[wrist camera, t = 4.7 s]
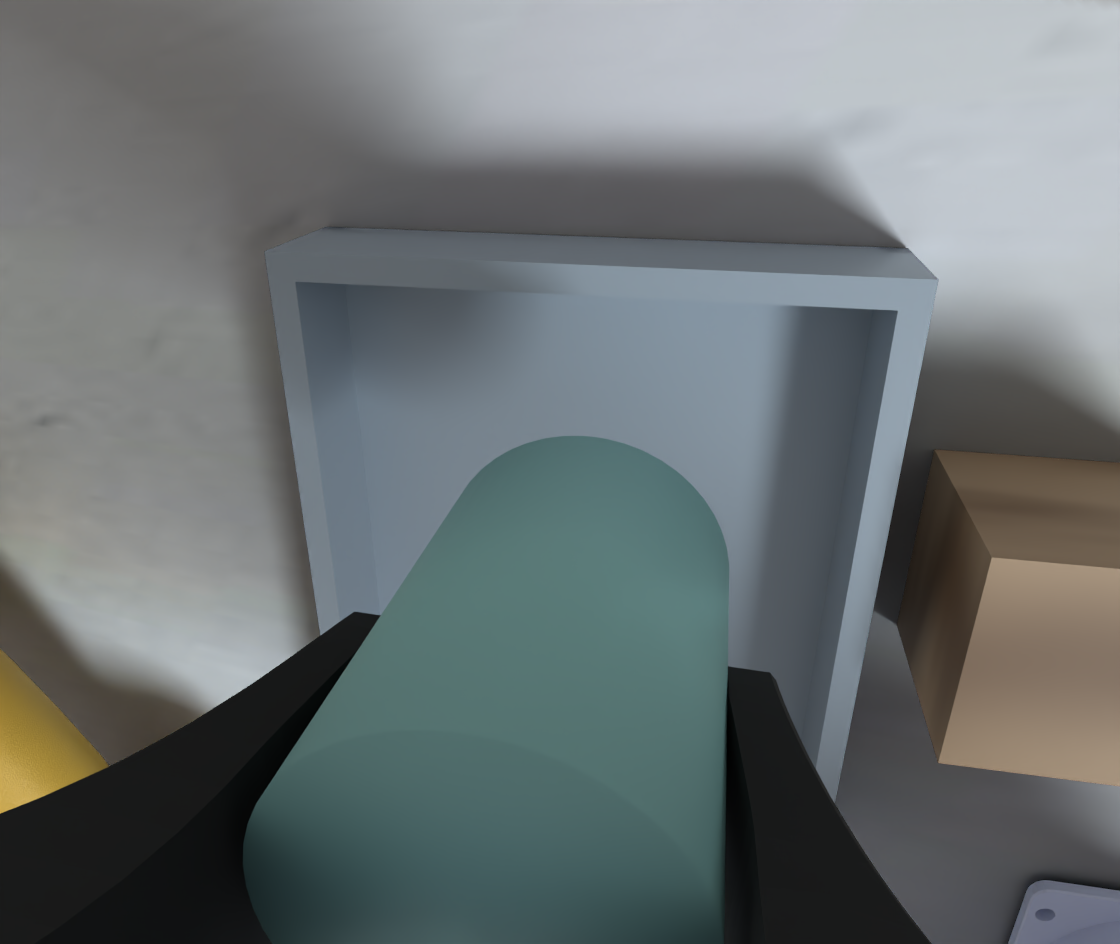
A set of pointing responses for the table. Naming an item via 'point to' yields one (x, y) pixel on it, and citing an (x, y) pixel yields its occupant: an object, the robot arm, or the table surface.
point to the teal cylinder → (522, 727)
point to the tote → (615, 410)
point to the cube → (1018, 614)
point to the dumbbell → (37, 742)
